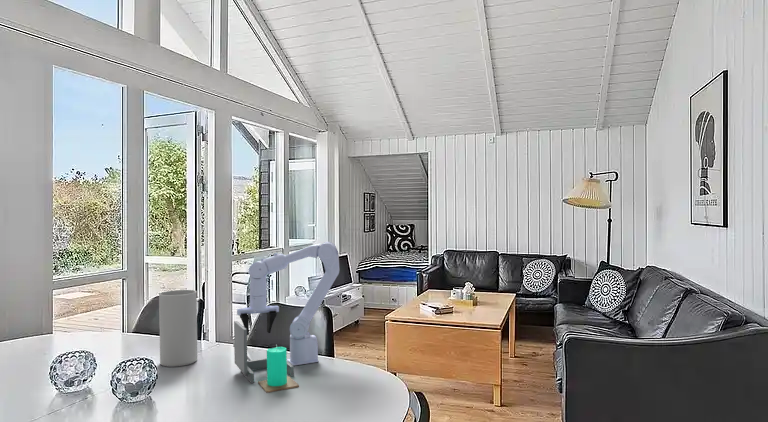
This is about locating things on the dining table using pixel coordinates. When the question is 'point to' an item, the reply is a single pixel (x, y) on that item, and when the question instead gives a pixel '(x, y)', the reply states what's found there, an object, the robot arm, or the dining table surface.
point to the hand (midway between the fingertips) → (258, 333)
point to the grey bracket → (242, 357)
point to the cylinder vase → (178, 327)
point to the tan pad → (288, 385)
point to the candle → (277, 366)
